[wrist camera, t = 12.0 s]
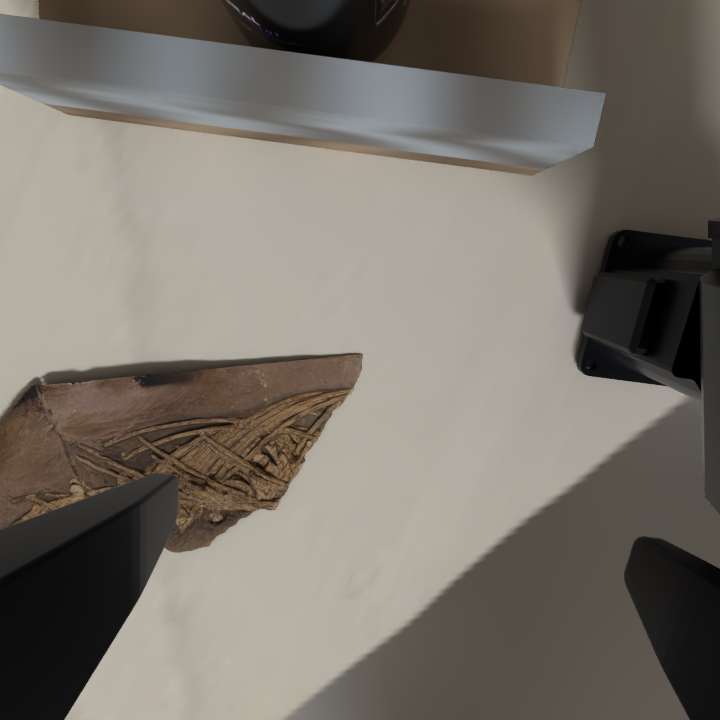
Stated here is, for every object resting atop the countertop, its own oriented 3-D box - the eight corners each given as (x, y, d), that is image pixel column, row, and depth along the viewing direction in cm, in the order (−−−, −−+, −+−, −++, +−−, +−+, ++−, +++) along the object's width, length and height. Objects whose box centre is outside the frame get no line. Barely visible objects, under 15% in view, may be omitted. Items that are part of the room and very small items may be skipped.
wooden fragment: (-17, 609, 26) (-33, 624, 25) (-127, 444, 24) (-150, 453, 22) (406, 477, 23) (407, 488, 22) (331, 275, 21) (329, 277, 20)
